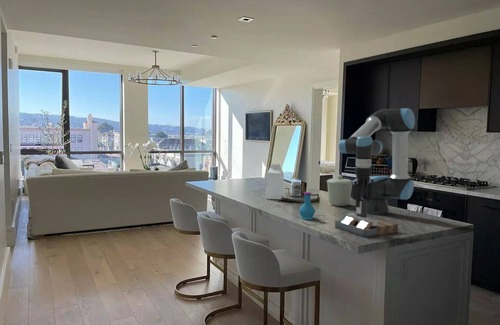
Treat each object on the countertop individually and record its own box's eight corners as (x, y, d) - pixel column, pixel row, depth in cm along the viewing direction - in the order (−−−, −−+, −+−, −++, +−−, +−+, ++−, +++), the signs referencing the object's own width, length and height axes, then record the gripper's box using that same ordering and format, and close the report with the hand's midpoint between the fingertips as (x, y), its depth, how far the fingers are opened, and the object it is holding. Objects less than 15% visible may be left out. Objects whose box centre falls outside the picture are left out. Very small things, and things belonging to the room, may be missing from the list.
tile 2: (363, 224, 191) (361, 220, 190) (370, 226, 186) (368, 222, 185) (357, 231, 189) (355, 227, 188) (365, 233, 185) (362, 229, 184)
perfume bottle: (313, 216, 226) (314, 191, 224) (316, 219, 216) (317, 193, 215) (297, 216, 225) (298, 191, 224) (300, 219, 216) (301, 193, 215)
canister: (346, 208, 250) (347, 177, 248) (321, 205, 261) (322, 174, 259) (356, 204, 264) (357, 174, 263) (332, 201, 275) (333, 172, 274)
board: (368, 223, 210) (368, 216, 210) (397, 231, 193) (398, 224, 192) (347, 226, 203) (347, 218, 203) (376, 235, 185) (376, 227, 185)
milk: (265, 199, 281) (265, 164, 279) (269, 196, 292) (269, 163, 290) (281, 200, 277) (281, 164, 275) (284, 197, 288) (285, 163, 286)
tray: (346, 226, 203) (346, 219, 203) (376, 235, 185) (377, 228, 185) (335, 227, 199) (335, 221, 199) (364, 237, 181) (365, 230, 181)
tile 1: (348, 219, 200) (346, 216, 199) (355, 221, 195) (353, 218, 195) (342, 226, 198) (340, 222, 197) (349, 228, 194) (347, 225, 193)
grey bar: (350, 218, 202) (351, 195, 201) (377, 225, 186) (377, 201, 185) (346, 218, 201) (347, 196, 200) (372, 226, 185) (373, 201, 184)
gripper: (356, 168, 184) (355, 216, 186) (380, 167, 192) (378, 213, 194) (346, 167, 191) (344, 213, 193) (369, 166, 198) (367, 210, 200)
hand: (361, 213), depth 193 cm, fingers closed on grey bar, 3 cm apart
